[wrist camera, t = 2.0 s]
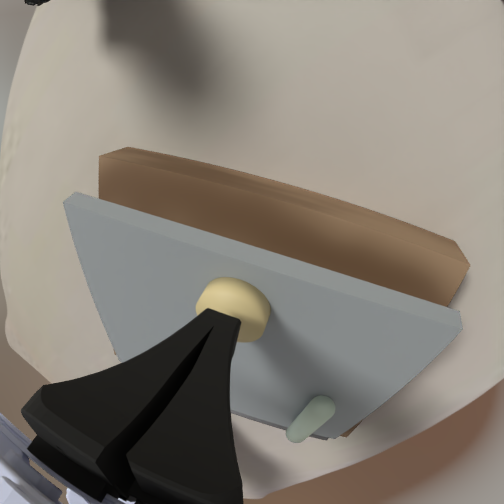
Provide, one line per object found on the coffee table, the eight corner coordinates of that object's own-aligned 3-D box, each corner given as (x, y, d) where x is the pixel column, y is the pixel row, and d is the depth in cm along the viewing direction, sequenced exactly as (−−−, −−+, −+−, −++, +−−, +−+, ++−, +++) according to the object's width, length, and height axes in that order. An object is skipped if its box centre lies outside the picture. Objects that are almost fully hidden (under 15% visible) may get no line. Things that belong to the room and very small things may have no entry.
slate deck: (332, 431, 22) (326, 458, 20) (127, 357, 25) (113, 380, 23) (459, 311, 11) (466, 361, 9) (75, 191, 14) (41, 219, 12)
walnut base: (349, 410, 25) (346, 437, 22) (131, 334, 28) (114, 354, 26) (455, 241, 16) (470, 265, 13) (127, 146, 19) (99, 156, 17)
